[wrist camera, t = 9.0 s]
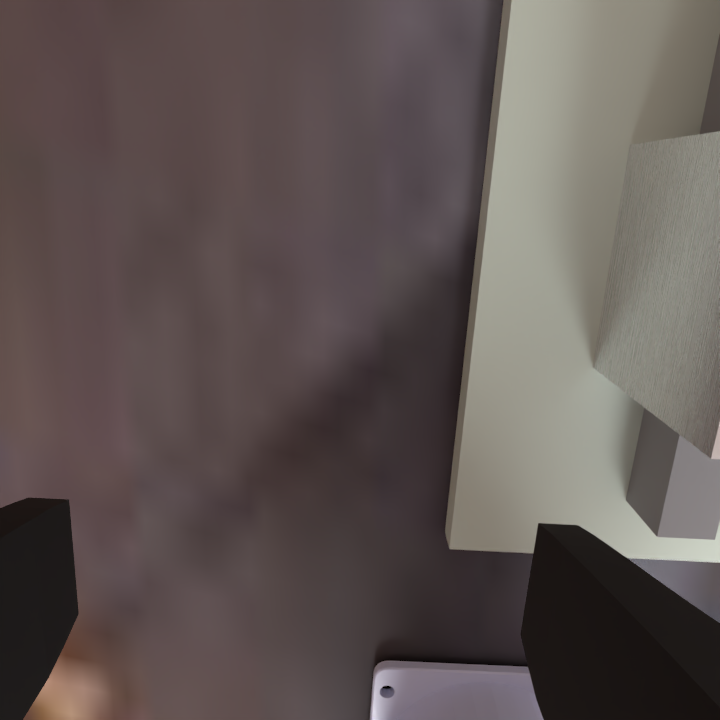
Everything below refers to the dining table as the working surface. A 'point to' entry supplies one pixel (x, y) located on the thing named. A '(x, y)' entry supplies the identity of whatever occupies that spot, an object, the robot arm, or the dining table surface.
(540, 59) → the rail plate
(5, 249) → the dining table surface
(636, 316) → the block
